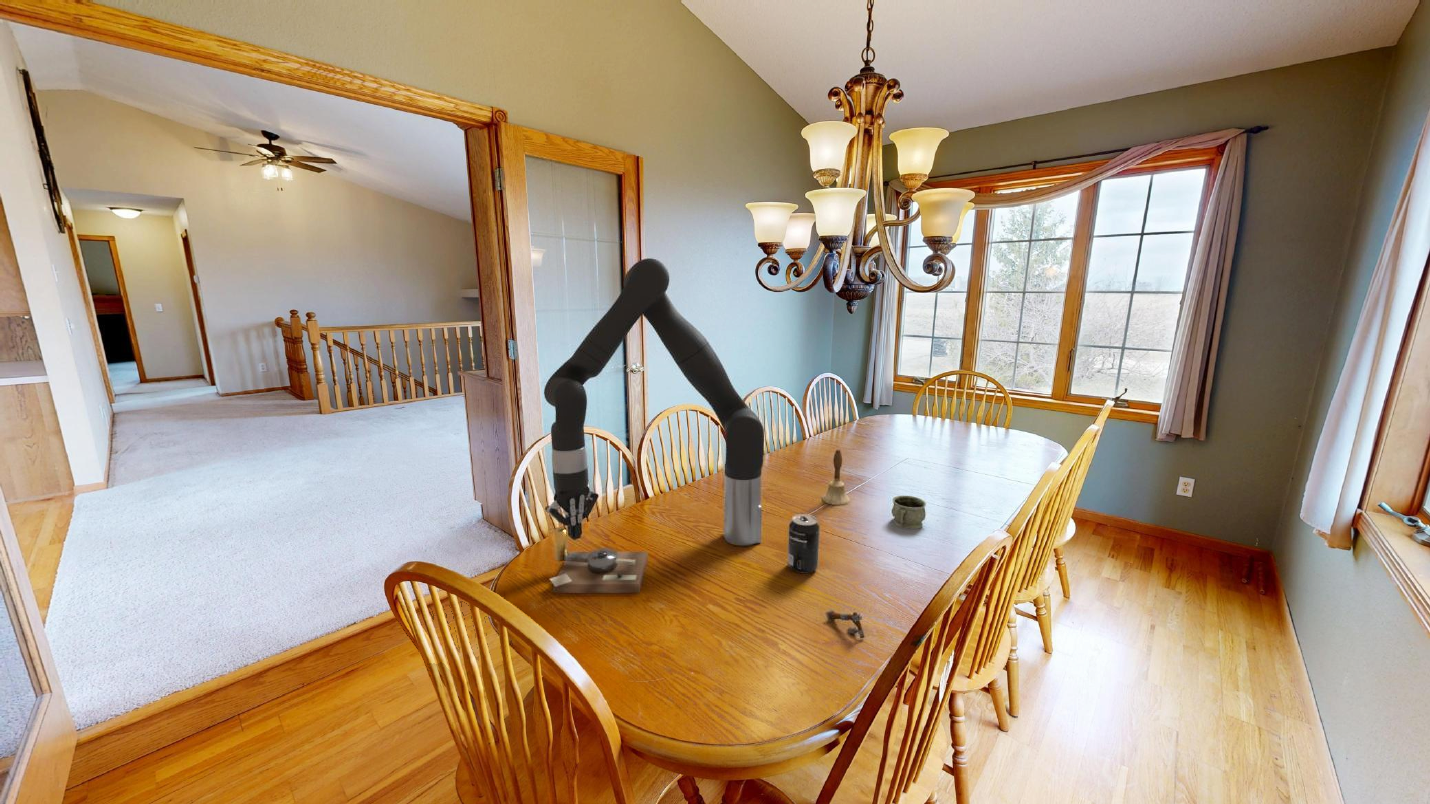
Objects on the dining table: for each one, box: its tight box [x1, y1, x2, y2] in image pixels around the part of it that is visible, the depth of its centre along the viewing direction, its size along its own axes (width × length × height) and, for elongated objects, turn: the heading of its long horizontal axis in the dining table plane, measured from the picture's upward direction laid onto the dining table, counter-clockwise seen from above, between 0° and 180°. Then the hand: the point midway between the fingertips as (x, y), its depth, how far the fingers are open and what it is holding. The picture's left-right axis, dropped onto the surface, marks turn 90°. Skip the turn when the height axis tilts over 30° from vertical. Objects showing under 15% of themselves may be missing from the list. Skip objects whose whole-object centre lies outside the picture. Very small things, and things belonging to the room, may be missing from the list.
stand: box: [549, 551, 648, 594], centre depth 116 cm, size 19×15×3 cm
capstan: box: [553, 526, 635, 573], centre depth 115 cm, size 18×6×8 cm, turn 81°
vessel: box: [891, 495, 927, 529], centre depth 143 cm, size 12×9×6 cm
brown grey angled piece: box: [825, 609, 865, 639], centre depth 98 cm, size 2×8×4 cm, turn 37°
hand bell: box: [821, 449, 851, 506], centre depth 157 cm, size 8×8×16 cm
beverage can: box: [787, 513, 821, 574], centre depth 118 cm, size 7×7×12 cm
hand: (575, 538), depth 120 cm, fingers closed
